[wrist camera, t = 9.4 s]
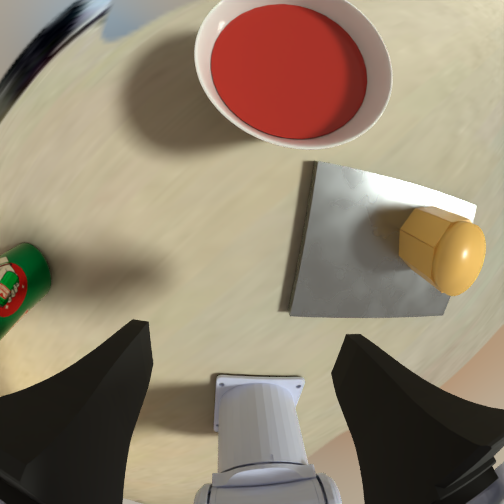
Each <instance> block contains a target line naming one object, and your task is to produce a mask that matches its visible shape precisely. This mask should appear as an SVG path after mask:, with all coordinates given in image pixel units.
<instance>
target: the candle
mask: <svg viewBox="0 0 504 504" xmlns="http://www.w3.org/2000/svg"><path fill="white" fill-rule="evenodd" d="M194 60H195V68H196V72H197V76H198V79H199V81H200V84H201V86H202V88H203V90H204V92H205V93H206V95H207V97H208V98H209V100H210V101H211V102H212V104H213V105H214V106H215V107H216V108H217V110H218V111H219V112H220V113H221V114H222V115H223V116H224V117H225V118H227V119H228V120H229V121H230V122H231V123H233V124H234V125H235V126H237V127H238V128H240V129H241V130H243V131H245V132H246V133H248V134H250V135H252V136H254V137H256V138H258V139H260V140H263V141H265V142H268V143H271V144H275V145H278V146H282V147H287V148H293V149H305V150H314V149H325V148H331V147H335V146H339V145H342V144H345V143H347V142H350V141H352V140H354V139H356V138H358V137H359V136H361V135H362V134H364V133H365V132H367V131H368V130H369V129H370V128H371V127H372V126H373V125H374V124H375V123H376V122H377V121H378V120H379V118H380V117H381V115H382V114H383V112H384V110H385V108H386V106H387V104H388V102H389V99H390V95H391V91H392V83H393V73H392V65H391V60H390V56H389V53H388V50H387V47H386V45H385V43H384V41H383V39H382V37H381V35H380V34H379V32H378V31H377V29H376V28H375V26H374V25H373V24H372V23H371V21H370V20H369V19H368V18H367V17H366V16H365V15H364V14H363V13H362V12H361V11H360V10H359V9H358V8H356V7H355V6H354V5H352V4H351V3H350V2H348V1H347V0H221V1H220V2H219V3H218V4H216V5H215V6H214V7H213V8H212V10H211V11H210V12H209V13H208V14H207V16H206V17H205V19H204V20H203V22H202V24H201V26H200V28H199V31H198V34H197V37H196V41H195V48H194Z"/></svg>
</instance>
